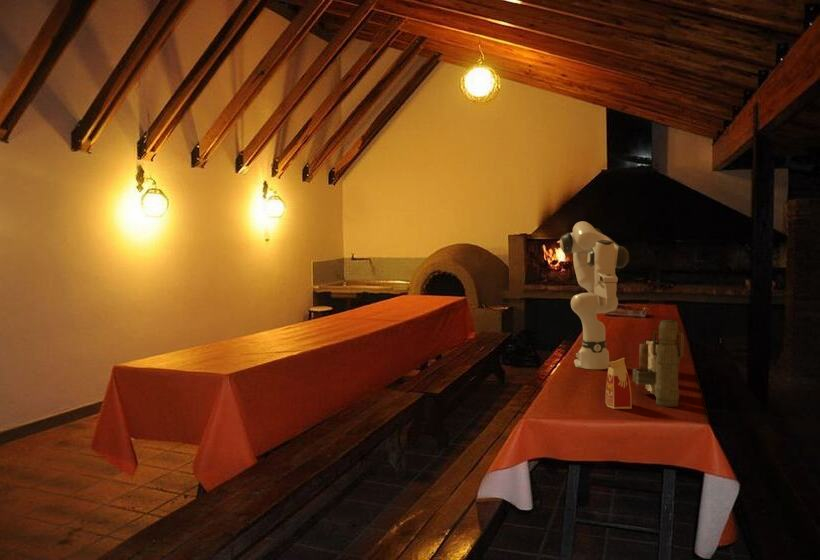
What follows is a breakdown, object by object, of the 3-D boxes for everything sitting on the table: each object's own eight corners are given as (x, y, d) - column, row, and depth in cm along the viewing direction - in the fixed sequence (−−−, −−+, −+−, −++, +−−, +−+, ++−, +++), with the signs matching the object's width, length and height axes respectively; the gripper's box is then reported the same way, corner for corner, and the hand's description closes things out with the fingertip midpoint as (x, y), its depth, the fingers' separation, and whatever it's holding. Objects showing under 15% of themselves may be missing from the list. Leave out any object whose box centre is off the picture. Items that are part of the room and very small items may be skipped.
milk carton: (624, 402, 269) (624, 355, 267) (632, 408, 259) (633, 360, 258) (602, 403, 268) (603, 355, 267) (610, 409, 259) (610, 360, 257)
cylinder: (637, 379, 282) (638, 343, 281) (645, 379, 282) (646, 343, 281) (640, 381, 279) (641, 345, 277) (648, 381, 279) (649, 344, 277)
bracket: (628, 389, 289) (629, 341, 287) (648, 388, 289) (648, 340, 287) (642, 399, 273) (642, 348, 271) (662, 398, 273) (663, 347, 271)
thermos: (681, 408, 258) (683, 322, 255) (650, 404, 264) (651, 320, 261) (684, 403, 266) (685, 319, 263) (654, 399, 272) (655, 317, 269)
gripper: (590, 274, 298) (590, 304, 299) (604, 278, 277) (604, 310, 278) (604, 274, 298) (604, 304, 299) (619, 278, 277) (618, 310, 278)
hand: (604, 307), depth 288 cm, fingers open, 8 cm apart
